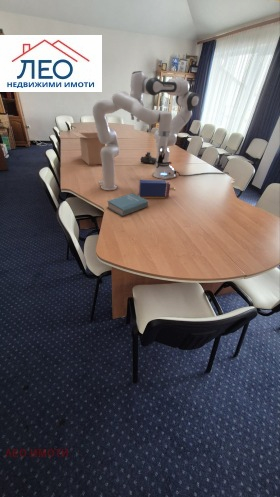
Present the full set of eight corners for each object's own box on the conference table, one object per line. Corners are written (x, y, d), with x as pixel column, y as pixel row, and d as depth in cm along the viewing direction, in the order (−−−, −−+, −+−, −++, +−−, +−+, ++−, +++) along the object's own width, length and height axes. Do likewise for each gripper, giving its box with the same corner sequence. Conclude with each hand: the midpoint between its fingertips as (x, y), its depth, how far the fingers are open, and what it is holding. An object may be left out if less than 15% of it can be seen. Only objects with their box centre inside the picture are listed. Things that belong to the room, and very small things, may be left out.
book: (132, 199, 164) (132, 193, 161) (147, 207, 155) (148, 200, 152) (107, 207, 150) (107, 200, 147) (123, 216, 141) (123, 209, 138)
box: (116, 165, 229) (116, 136, 213) (83, 168, 214) (80, 137, 198) (102, 154, 259) (101, 128, 243) (71, 156, 244) (68, 129, 228)
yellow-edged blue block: (163, 194, 175) (165, 180, 168) (164, 198, 170) (166, 183, 163) (138, 194, 172) (139, 179, 165) (139, 197, 167) (140, 182, 160)
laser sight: (159, 165, 238) (161, 156, 232) (139, 163, 241) (140, 153, 235) (161, 163, 246) (162, 153, 240) (141, 161, 248) (141, 151, 242)
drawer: (173, 194, 175) (175, 182, 169) (174, 196, 170) (176, 184, 165) (144, 193, 172) (145, 181, 166) (145, 196, 168) (146, 183, 162)
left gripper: (159, 131, 150) (157, 157, 160) (156, 135, 136) (153, 163, 147) (170, 132, 149) (167, 158, 159) (168, 136, 135) (165, 165, 146)
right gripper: (146, 100, 156) (145, 122, 164) (133, 98, 170) (133, 118, 178) (138, 100, 153) (137, 122, 162) (126, 97, 168) (126, 118, 176)
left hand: (161, 161), depth 153 cm, fingers open, 9 cm apart
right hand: (135, 120), depth 170 cm, fingers open, 8 cm apart
